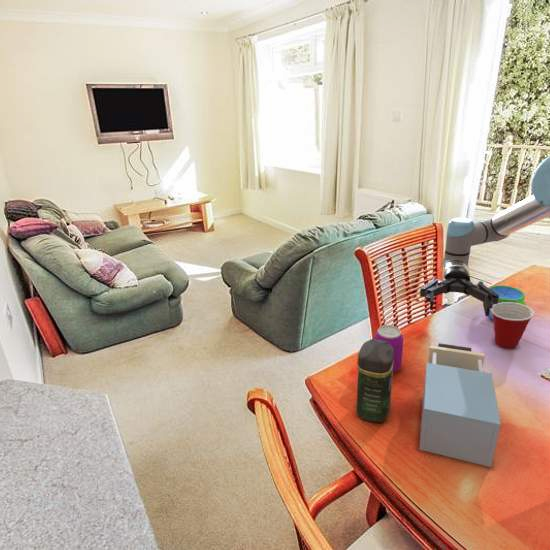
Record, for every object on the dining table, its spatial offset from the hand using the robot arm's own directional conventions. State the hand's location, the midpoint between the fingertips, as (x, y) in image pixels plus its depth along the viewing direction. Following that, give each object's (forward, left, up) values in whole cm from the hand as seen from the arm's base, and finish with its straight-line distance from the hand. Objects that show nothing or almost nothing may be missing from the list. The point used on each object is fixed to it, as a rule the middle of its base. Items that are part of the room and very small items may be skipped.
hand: (459, 308), depth 100 cm
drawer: (-2, +13, -17) cm, 21 cm away
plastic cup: (-12, -17, -18) cm, 28 cm away
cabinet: (-4, +25, -18) cm, 31 cm away
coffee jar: (+14, +27, -18) cm, 35 cm away
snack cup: (-10, -32, -18) cm, 38 cm away
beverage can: (+16, +9, -18) cm, 26 cm away
